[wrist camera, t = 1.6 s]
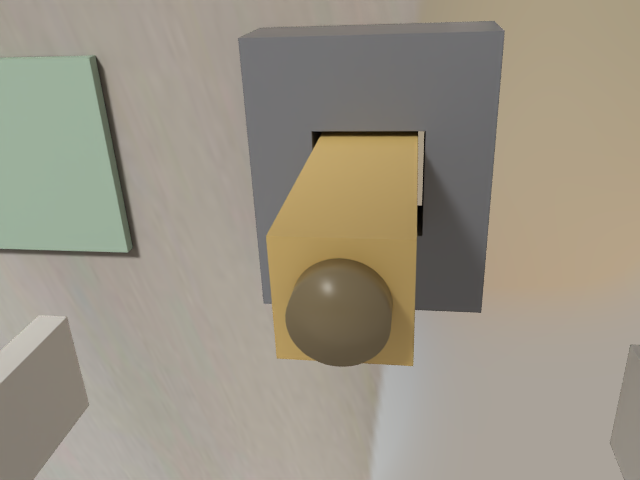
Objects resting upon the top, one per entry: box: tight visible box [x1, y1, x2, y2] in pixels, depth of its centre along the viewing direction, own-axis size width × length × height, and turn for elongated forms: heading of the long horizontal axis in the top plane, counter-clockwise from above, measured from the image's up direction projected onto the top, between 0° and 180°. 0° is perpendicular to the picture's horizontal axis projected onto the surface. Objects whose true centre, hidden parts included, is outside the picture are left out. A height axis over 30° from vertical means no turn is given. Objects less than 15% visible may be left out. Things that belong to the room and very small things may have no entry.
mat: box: [0, 56, 133, 252], centre depth 31 cm, size 10×10×1 cm
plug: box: [266, 131, 418, 366], centre depth 22 cm, size 4×4×14 cm
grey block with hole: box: [238, 21, 504, 313], centre depth 27 cm, size 12×10×4 cm
